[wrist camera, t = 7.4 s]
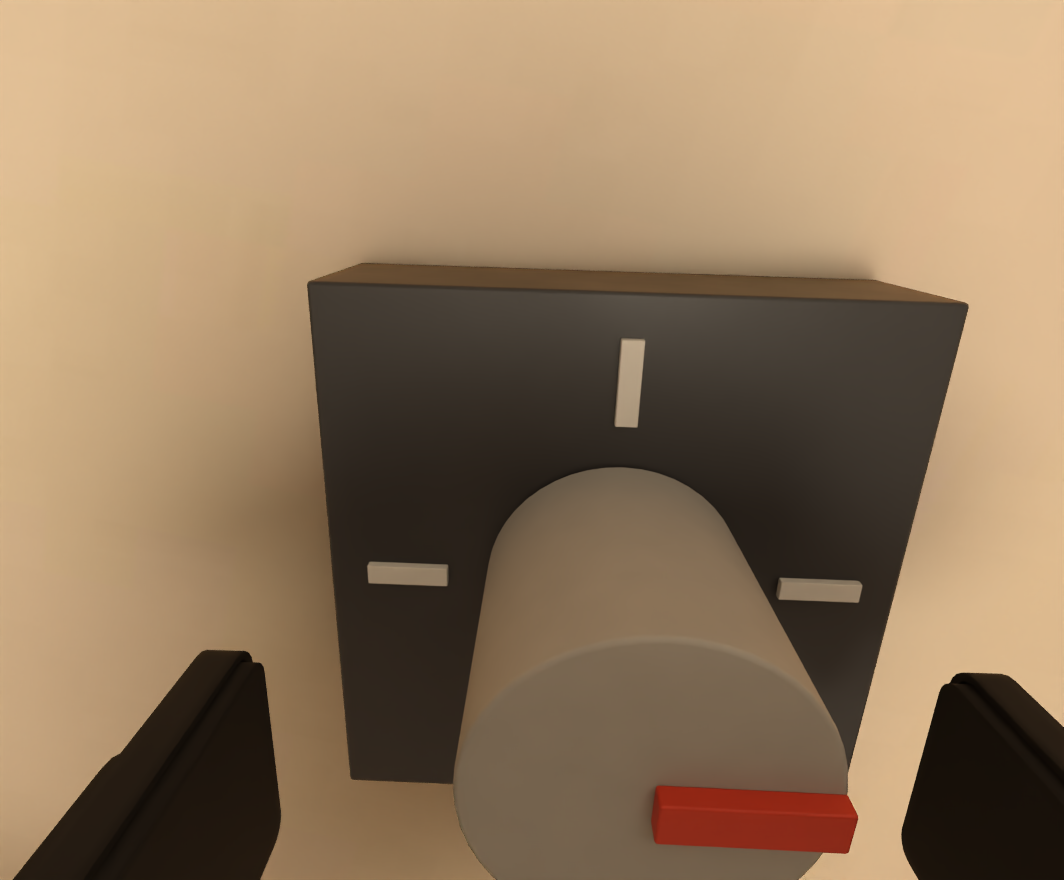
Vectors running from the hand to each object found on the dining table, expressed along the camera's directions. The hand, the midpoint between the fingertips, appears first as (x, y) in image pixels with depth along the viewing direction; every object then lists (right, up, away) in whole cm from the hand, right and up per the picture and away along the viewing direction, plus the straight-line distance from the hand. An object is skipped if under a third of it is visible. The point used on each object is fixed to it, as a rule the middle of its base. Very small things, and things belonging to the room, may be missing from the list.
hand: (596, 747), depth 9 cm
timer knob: (+1, +2, +2) cm, 3 cm away
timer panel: (+1, +3, +5) cm, 6 cm away
